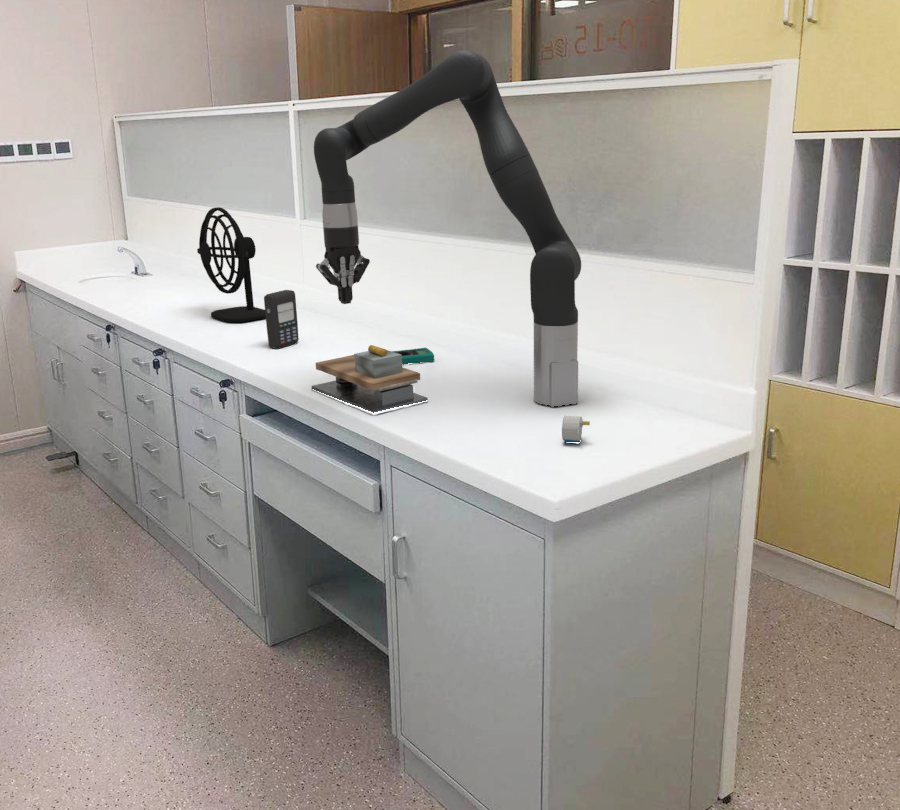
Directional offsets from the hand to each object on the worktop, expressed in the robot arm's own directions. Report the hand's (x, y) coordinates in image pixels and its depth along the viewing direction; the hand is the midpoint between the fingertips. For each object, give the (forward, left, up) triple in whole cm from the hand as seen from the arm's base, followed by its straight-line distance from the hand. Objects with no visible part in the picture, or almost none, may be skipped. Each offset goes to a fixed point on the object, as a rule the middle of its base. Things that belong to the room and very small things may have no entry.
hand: (346, 303), depth 198 cm
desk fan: (+97, +14, -20) cm, 100 cm away
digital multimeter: (+19, -18, -21) cm, 34 cm away
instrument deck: (-7, -2, -16) cm, 17 cm away
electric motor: (-52, -30, -20) cm, 64 cm away
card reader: (+51, +7, -20) cm, 55 cm away
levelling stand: (-6, -2, -20) cm, 21 cm away
